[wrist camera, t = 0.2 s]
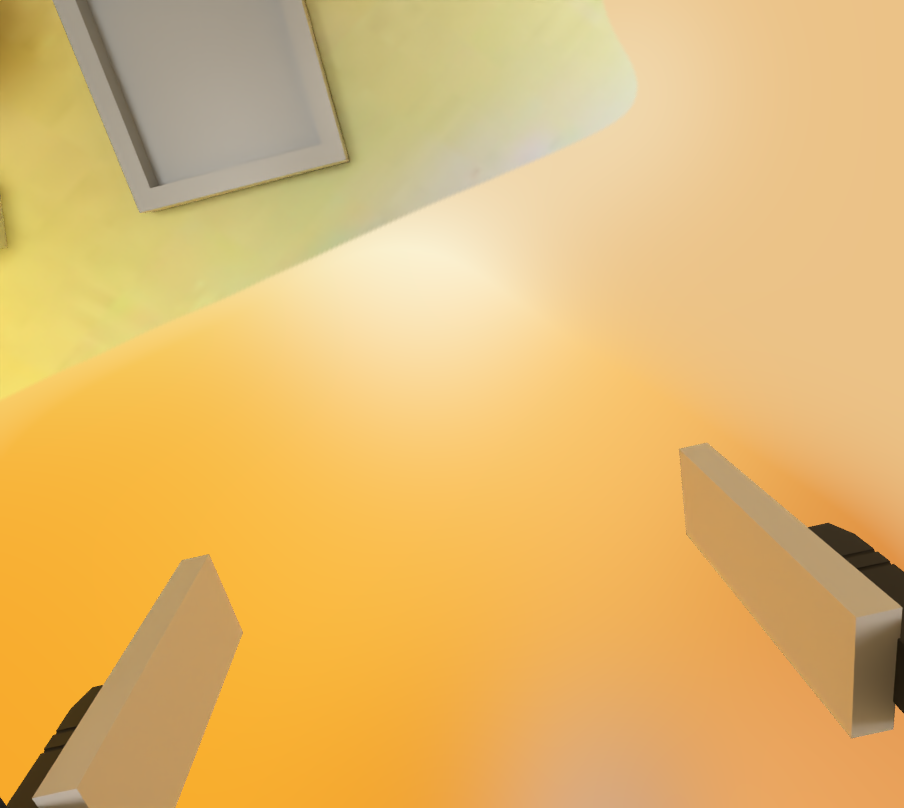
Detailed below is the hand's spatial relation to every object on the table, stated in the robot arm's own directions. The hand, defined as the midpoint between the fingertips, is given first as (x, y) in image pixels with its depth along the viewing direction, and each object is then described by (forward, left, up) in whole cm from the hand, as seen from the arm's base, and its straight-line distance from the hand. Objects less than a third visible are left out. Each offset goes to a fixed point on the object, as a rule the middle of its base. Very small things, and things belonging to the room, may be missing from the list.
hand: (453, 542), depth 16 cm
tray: (-19, -9, -28) cm, 35 cm away
